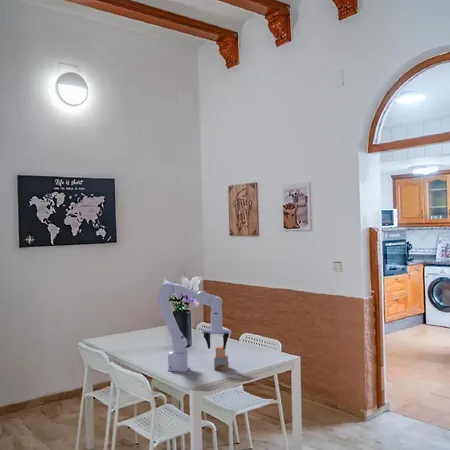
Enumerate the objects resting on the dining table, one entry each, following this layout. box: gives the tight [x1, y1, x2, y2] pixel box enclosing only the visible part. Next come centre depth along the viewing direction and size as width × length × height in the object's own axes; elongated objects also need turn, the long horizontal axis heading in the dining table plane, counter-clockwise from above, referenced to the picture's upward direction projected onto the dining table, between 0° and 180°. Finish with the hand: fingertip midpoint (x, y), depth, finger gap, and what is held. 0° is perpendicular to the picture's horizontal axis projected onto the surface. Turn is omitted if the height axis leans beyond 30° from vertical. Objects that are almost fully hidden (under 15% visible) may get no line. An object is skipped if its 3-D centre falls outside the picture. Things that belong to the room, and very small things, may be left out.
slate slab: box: [213, 354, 229, 365], centre depth 243 cm, size 6×6×3 cm
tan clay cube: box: [215, 345, 226, 358], centre depth 243 cm, size 4×4×5 cm
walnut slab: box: [213, 361, 230, 372], centre depth 243 cm, size 6×6×3 cm
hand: (216, 348), depth 242 cm, fingers open, 7 cm apart
